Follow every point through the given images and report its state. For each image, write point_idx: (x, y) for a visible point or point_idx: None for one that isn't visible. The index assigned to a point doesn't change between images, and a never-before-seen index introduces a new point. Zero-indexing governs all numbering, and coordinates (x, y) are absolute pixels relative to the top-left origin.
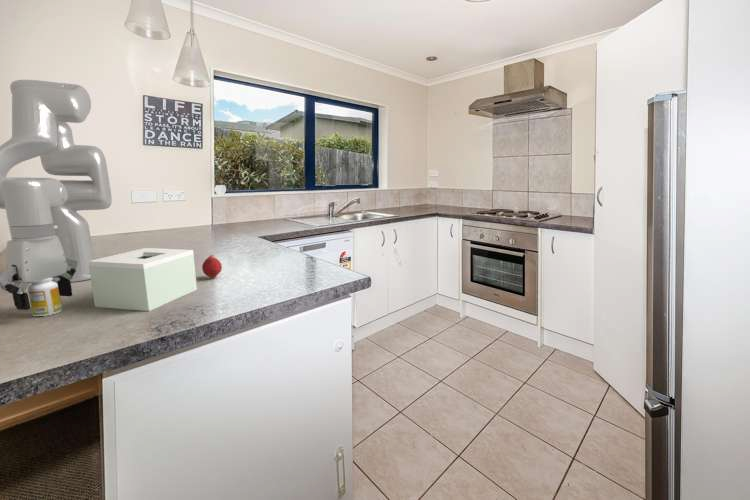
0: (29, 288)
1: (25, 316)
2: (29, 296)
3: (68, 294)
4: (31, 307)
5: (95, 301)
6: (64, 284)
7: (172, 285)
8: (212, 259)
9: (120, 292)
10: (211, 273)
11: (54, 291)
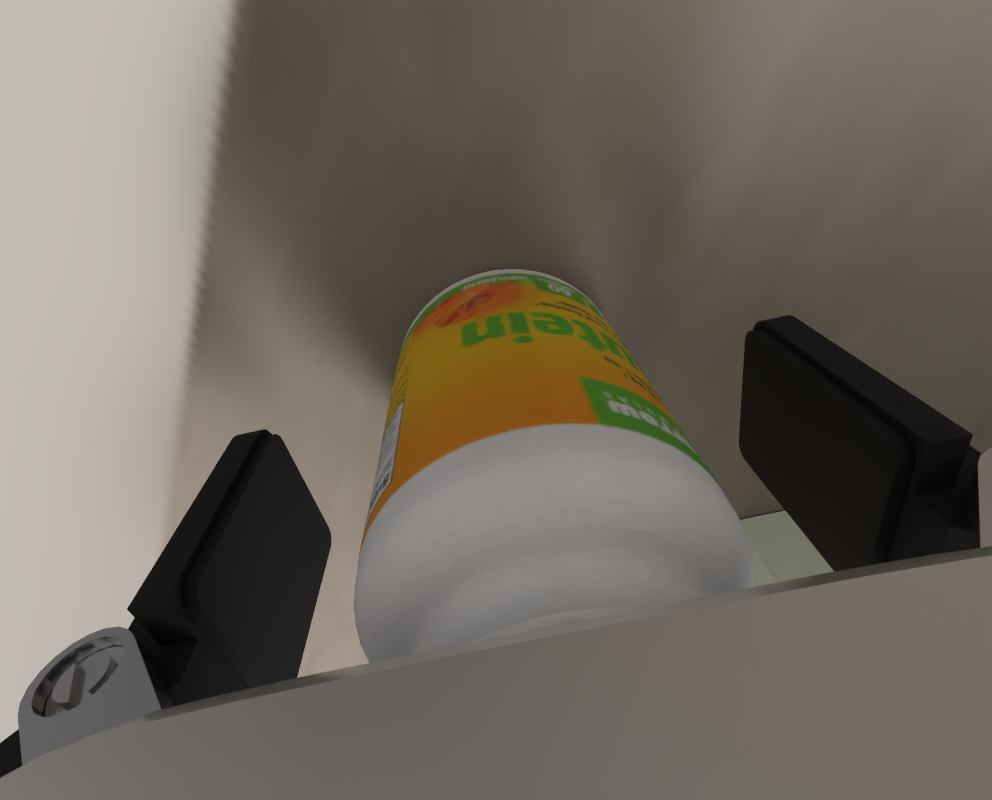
0: (360, 634)
1: (362, 271)
2: (372, 492)
3: (752, 458)
4: (392, 389)
5: (756, 567)
6: (840, 529)
7: None
8: None
9: None
10: None
11: None
